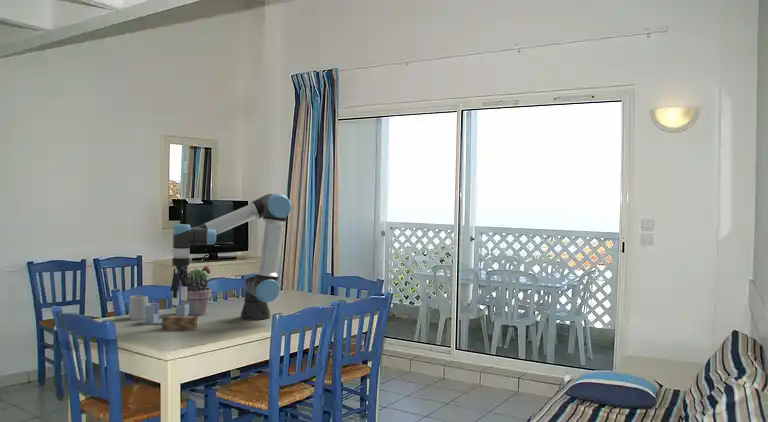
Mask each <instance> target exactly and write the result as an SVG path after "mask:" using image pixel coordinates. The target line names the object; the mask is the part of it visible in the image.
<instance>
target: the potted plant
mask: <svg viewBox="0 0 768 422" xmlns="http://www.w3.org/2000/svg"><path fill="white" fill-rule="evenodd" d="M206 273H207V274H206ZM210 273H211V270H210V268H209V267H208V266H207V265H206V266H203V268H201V269H197V268H195V269H193V270H189V272H188V281H189V286H187V300H182V304H189V314H188V315H187V316H197V317H199V316H204V315H205V314H206V311H207V308H208V304H209V300H210V298H211V294H212V288H210V287H208V286H209V282H208V278H212V277H210V276H209V275H210ZM179 293H181V287H180V288H179Z"/></svg>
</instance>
